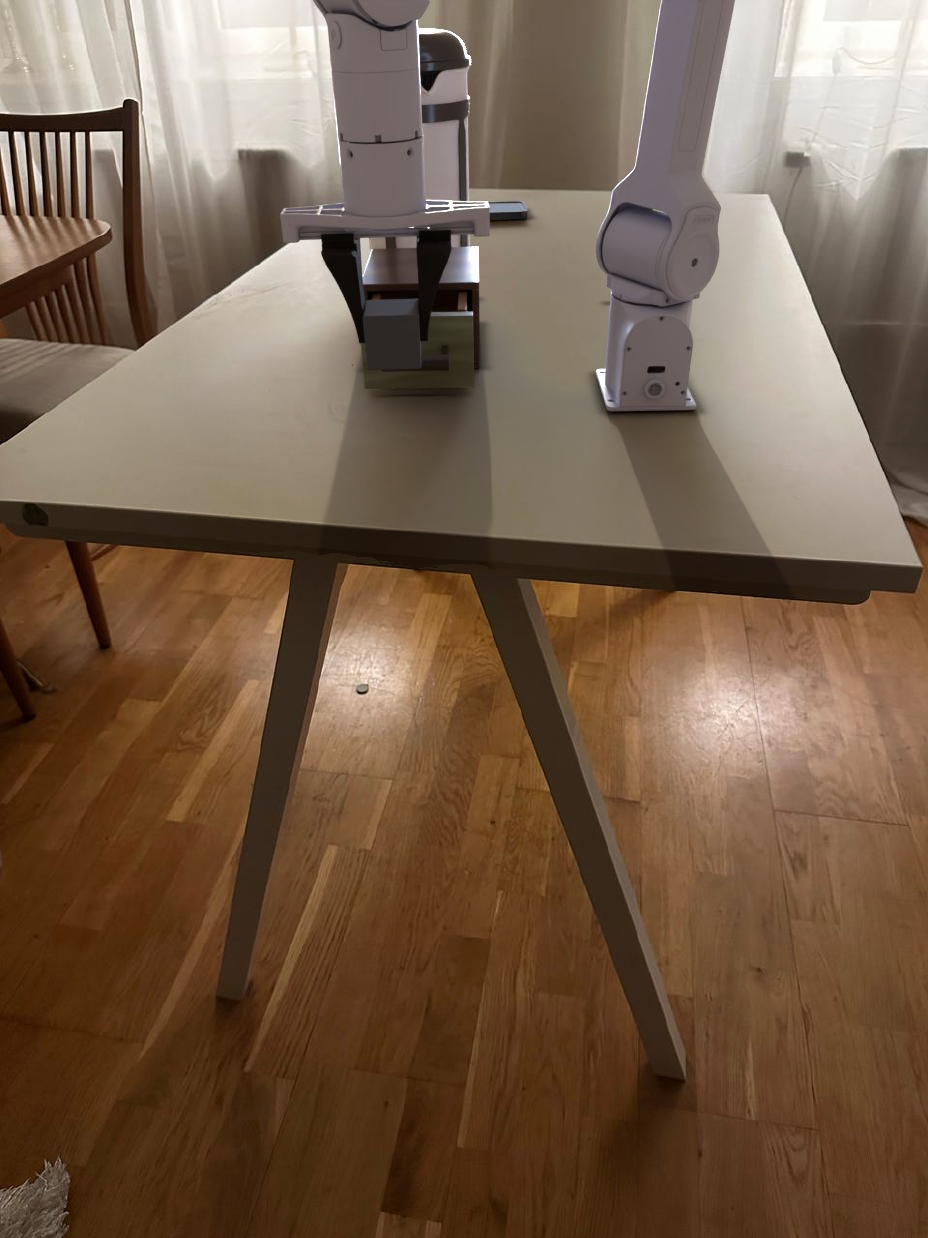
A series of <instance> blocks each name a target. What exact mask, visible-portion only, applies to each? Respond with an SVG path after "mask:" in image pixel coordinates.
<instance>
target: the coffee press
mask: <svg viewBox="0 0 928 1238" xmlns="http://www.w3.org/2000/svg"><path fill="white" fill-rule="evenodd" d="M418 41H419V62H420V85H421V108H422V130H423V149H424V172H425V194H426V200H441V201H464V202H470V166H469V165H470V164H469V163H470V162H469V161H470V160H469V159H470V157H469V156H470V155H469V117H470V115H471V97H470V96H469V95H468V72H469V70H470V67H471V65H472V64H471V63H472V59H471V56H470V55H468V54H467V50H466V49H467V48H466V46H465V43H464V42H463V40H462V39H461V38H460V37H459V36H458V35H456V34H455V33H453V32H452V31H449V30H445V29H438V28H418ZM416 241H417V236H409V237H379V238H368V244H369V255H370V254H371V251H372V249H380V248H416ZM451 244H452V247H471V234H469V235H451Z"/></svg>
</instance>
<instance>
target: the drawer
mask: <svg viewBox="0 0 928 1238" xmlns="http://www.w3.org/2000/svg"><path fill="white" fill-rule="evenodd" d="M389 299H419V291H374V294H373V297H372V300H389ZM360 348H361V358H362V370H363V371H362V373H363V381H364V383H363V384H364V390H400V389H402V390H406V389H411V390H413V389H460V388H461V389H467V388H470V389H471V388H475V368H474V348H473V312H468V305H467V290H437V291H436V295H435V298H434V302H433V306H432V310H431V316H430V321H429V330H428V341H421V368H420V369H395V370H367V360H366V349H365V343H360Z"/></svg>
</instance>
